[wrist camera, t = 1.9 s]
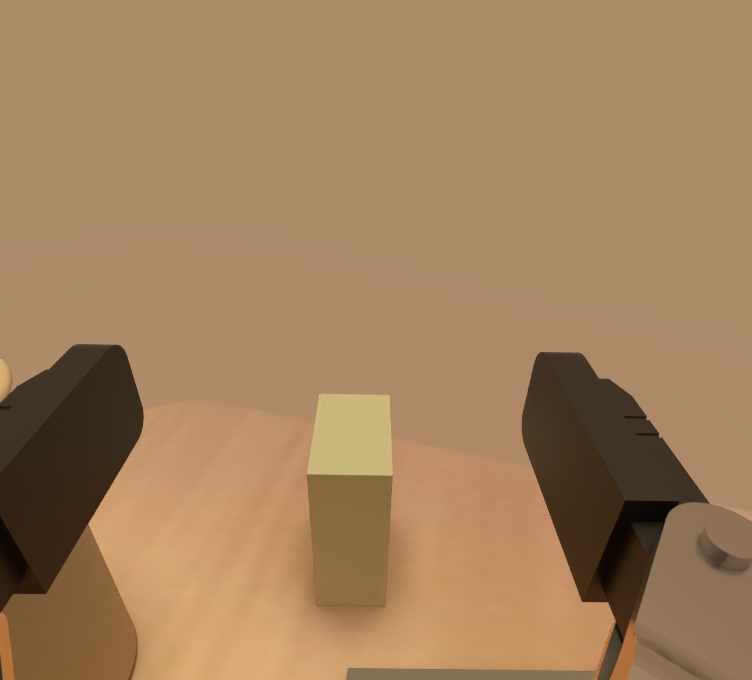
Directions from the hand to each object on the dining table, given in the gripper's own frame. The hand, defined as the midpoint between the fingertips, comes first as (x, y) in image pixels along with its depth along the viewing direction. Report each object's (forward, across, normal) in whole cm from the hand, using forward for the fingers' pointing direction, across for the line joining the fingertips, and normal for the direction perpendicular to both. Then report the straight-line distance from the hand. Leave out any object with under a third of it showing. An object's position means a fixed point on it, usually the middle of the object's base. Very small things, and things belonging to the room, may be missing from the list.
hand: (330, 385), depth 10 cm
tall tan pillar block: (+11, 0, +22) cm, 25 cm away
